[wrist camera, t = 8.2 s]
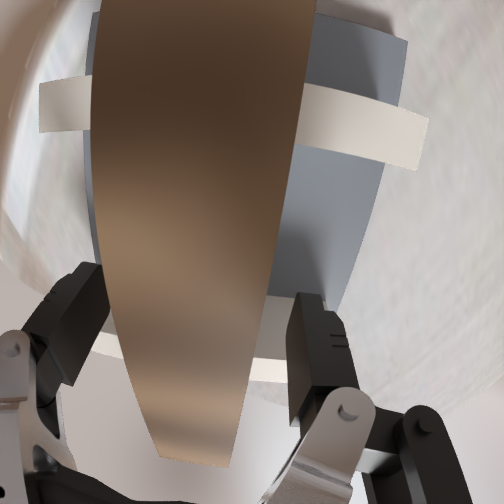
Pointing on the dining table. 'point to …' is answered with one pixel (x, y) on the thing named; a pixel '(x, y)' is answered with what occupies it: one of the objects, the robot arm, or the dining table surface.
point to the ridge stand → (300, 169)
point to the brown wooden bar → (193, 197)
